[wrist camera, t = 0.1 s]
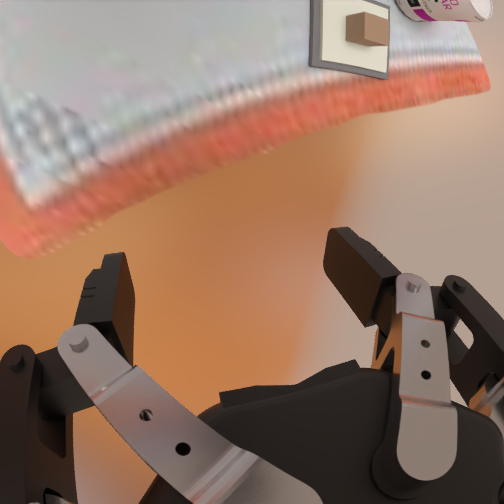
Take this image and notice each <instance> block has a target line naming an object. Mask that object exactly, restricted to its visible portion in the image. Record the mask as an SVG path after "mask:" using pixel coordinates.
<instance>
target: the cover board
mask: <svg viewBox="0 0 504 504" xmlns="http://www.w3.org/2000/svg"><path fill="white" fill-rule="evenodd" d="M388 46H389V20H388V9H386V8H383V7H381V6H378V5H375V4H372V3H369V2H366V1H363V0H320V50H319V60H322V61H329V62H335V63H340V64H346V65H351V66H356V67H361V68H365V69H370V70H374V71H378V72H382V73H386V71H387V50H388Z"/></svg>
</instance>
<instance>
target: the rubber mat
mask: <svg viewBox="0 0 504 504" xmlns="http://www.w3.org/2000/svg"><path fill="white" fill-rule="evenodd" d="M363 1H366V2H369V3H372V4H375V5H378V6H381V7H383V8H386V9H388V20H389V40H390V6H387V5H385V4H382V3H379V2H377V1H374V0H363ZM319 50H320V0H311V1H310V49H309V66H312V67H320V68H327V69H333V70H340V71H345V72H351V73H356V74H361V75H366V76H371V77H375V78H380V79H384V80H388V65H389V46H388V50H387V71H386V73H382V72H378V71H374V70H370V69H365V68H361V67H356V66H351V65H346V64H340V63H335V62H329V61H322V60H319Z"/></svg>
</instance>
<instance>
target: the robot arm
mask: <svg viewBox="0 0 504 504" xmlns="http://www.w3.org/2000/svg"><path fill="white" fill-rule="evenodd" d="M323 266H324V271H325V273H326V275H327V277H328V278H329V279H330V281H331V282H332V283H333V284H334V286H335V287H336V289H337V290H338V291H339V293H340V294H341V295H342V297H343V298H344V299H345V301H346V302H347V303H348V305H349V306H350V308H351V309H352V310H353V312H354V313H355V314H356V316H357V317H358V319H359V320H360V321H361V323H362V324H363V325H364V327H369V326H372V325H375V324H377V325H378V328H377V331H376V335H375V343H374V351H373V359H372V365H371V368H360V367H359V365H358V363H357V362H356V360H355V359H354V360H351V361H348V362H345V363H341V364H338V365H335V366H331V367H328V368H325V369H323V370H322V371H320V372H318V373H316V374H315V375H313V376H311V377H309V378H307V379H306V380H304V381H302V382H300V383H298V384H295V385H276V386H275V385H274V386H252V387H246V388H241V389H236V390H230V391H225V392H220V393H219V396H220V403H218V404H216V405H214V406H212V407H210V408H208V409H206V410H205V411H204V412H202V413H201V414H199V415H198V416H197V417H196V416H195V415H194V414H193V413H191V412H190V411H189V410H188V409H187V408H185V407H184V406H183V405H182V404H181V403H179V402H178V401H177V400H176V399H175V398H173V397H172V396H171V395H170V394H169V393H168V392H167V391H165V390H164V389H163V388H162V387H161V386H160V385H159V384H158V383H157V382H155V381H154V380H153V379H152V378H151V377H150V376H149V375H148V374H147V373H146V372H144V371H143V370H142V369H141V368H140V367H139V366H137V365H135V366H134V367H133V340H134V311H135V293H134V287H133V283H132V279H131V275H130V271H129V267H128V263H127V259H126V256H125V253H124V252H119V253H112V254H106V255H104V258H103V262H102V266H101V269H93V270H92V272H91V273H90V274H89V275H88V276H87V278H86V279H85V283H84V286H83V290H82V294H81V299H80V301H79V304H78V308H77V312H76V316H75V320H74V325H73V327H71V328H69V329H68V330H66V331H65V332H64V333H63V334H62V335H61V337H60V338H59V341H58V345H57V347H55V348H53V349H50V350H47V351H44V352H41V353H38V354H35V352H34V351H33V349H32V348H31V347H29V346H27V345H17V346H14V347H12V348H10V349H9V350H8V351H7V352H6V353H5V354H4V356H3V357H2V359H1V361H0V504H78V500H77V492H76V483H75V471H74V455H73V413H75V412H77V411H80V410H83V409H86V408H89V407H92V406H96V407H97V409H98V410H99V411H100V412H101V414H102V415H103V416H104V417H105V419H106V420H107V421H108V422H109V423H110V425H111V426H112V427H113V428H114V429H115V431H116V432H117V433H118V434H119V435H120V436H121V437H122V438H123V439H124V441H125V442H126V443H127V444H128V445H129V446H130V447H131V448H132V449H133V450H134V451H135V452H136V453H137V455H138V456H139V457H140V458H141V459H142V460H143V461H144V462H145V463H146V464H147V465H148V466H149V467H150V468H151V469H152V470H153V471H155V472H156V473H157V476H156V477H155V479H154V480H153V482H152V484H151V485H150V487H149V488H148V490H147V491H146V493H145V494H144V496H143V497H142V499H141V501H140V502H139V504H504V320H503V318H502V317H501V316H500V315H499V314H498V313H497V312H496V311H495V310H494V308H493V307H492V306H491V305H490V304H489V303H488V302H487V301H486V300H485V299H484V298H483V297H482V296H481V295H480V294H479V293H478V292H477V291H476V290H475V289H474V287H473V286H472V285H470V283H468V282H467V281H466V280H464V279H463V278H461V277H459V276H455V275H449V276H447V277H446V278H445V279H444V282H443V284H442V286H429V284H428V283H427V282H426V281H425V280H424V279H423V278H422V277H420V276H418V275H415V274H412V273H403V274H402V273H401V272H400V271H399V270H398V269H397V268H396V267H395V266H394V265H393V264H392V263H391V262H390V261H389V260H388V259H387V258H386V257H383V254H381V253H380V252H379V251H377V249H376V248H375V247H374V246H373V245H372V244H371V243H370V242H368V241H366V240H364V239H362V238H360V237H359V236H358V235H357V234H356V233H355V232H353V231H352V230H351V229H350V228H349V227H339V228H331V229H330V230H329V232H328V236H327V242H326V248H325V254H324V260H323ZM460 319H461V320H462V321H463V322H464V323H465V325H466V326H467V327H468V328H469V330H470V331H471V332H472V334H473V337H474V341H473V344H472V346H471V348H470V349H468V348H467V347H466V345H465V344H464V343H463V342H462V340H461V339H460V338H459V337H458V335H457V334H456V333H455V331H454V329H455V327H456V325H457V323H458V321H459V320H460ZM450 379H451V381H452V382H453V384H454V385H455V387H456V388H457V390H458V392H459V393H460V395H461V396H462V398H463V399H464V401H465V402H466V404H467V406H468V407H469V408H468V407H465V406H463V405H460V404H458V403H456V402H454V401H451V397H450Z"/></svg>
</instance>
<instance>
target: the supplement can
mask: <svg viewBox="0 0 504 504" xmlns="http://www.w3.org/2000/svg"><path fill="white" fill-rule="evenodd" d="M396 1H397V4H398V5H399V7H400V9H401V10H402V11H403V12H404V13H405V14H406V15H407V16H408V17H409V18H411V19H412V20H415V21H466V22H467V21H468V22H483V21H484V20H486V19H488V18H490V17H491V16H492V10H493V8H492V1H491V0H396Z"/></svg>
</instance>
